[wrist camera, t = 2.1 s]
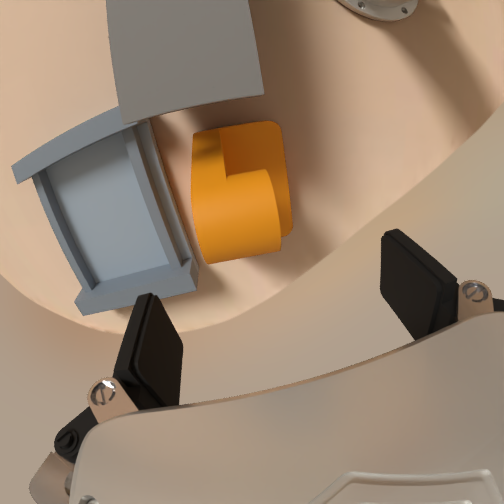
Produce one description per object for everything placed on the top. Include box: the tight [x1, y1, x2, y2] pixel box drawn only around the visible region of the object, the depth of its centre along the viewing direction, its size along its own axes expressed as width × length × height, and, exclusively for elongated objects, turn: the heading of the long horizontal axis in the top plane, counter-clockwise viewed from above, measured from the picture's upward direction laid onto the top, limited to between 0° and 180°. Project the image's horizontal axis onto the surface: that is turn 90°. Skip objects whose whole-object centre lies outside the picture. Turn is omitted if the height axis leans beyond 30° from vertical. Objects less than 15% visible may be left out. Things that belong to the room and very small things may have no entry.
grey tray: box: [11, 106, 199, 316], centre depth 24 cm, size 14×18×4 cm
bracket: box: [191, 120, 293, 264], centre depth 21 cm, size 11×7×12 cm, turn 9°
